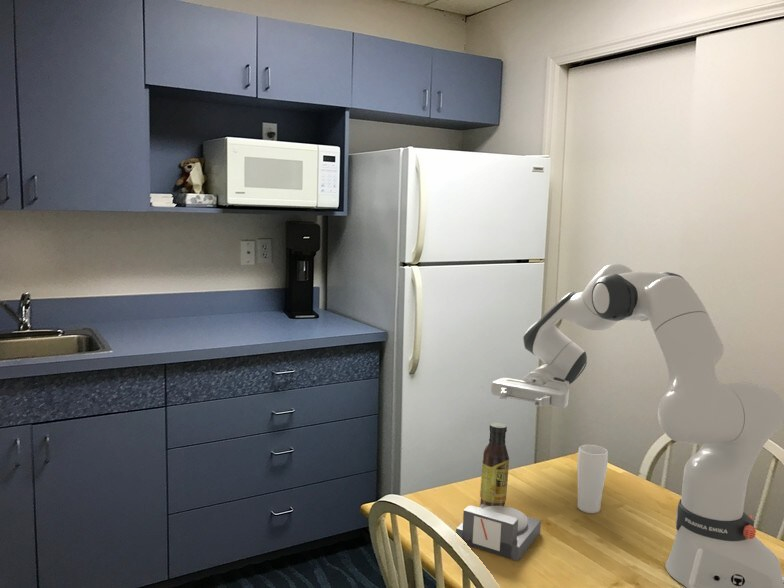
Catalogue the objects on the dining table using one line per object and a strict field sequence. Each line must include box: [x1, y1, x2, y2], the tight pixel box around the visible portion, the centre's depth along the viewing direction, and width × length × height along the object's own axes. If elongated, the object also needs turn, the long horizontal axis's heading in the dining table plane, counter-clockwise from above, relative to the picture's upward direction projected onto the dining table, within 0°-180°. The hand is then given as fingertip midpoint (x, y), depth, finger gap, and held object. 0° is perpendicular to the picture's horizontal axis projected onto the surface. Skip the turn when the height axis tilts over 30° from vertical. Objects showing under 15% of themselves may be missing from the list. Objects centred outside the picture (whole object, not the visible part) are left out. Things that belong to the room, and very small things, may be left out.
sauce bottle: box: [479, 422, 510, 506], centre depth 160 cm, size 6×6×20 cm
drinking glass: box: [576, 444, 609, 514], centre depth 160 cm, size 7×7×15 cm
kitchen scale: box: [455, 503, 542, 562], centre depth 146 cm, size 14×14×8 cm
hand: (519, 399), depth 171 cm, fingers open, 8 cm apart
